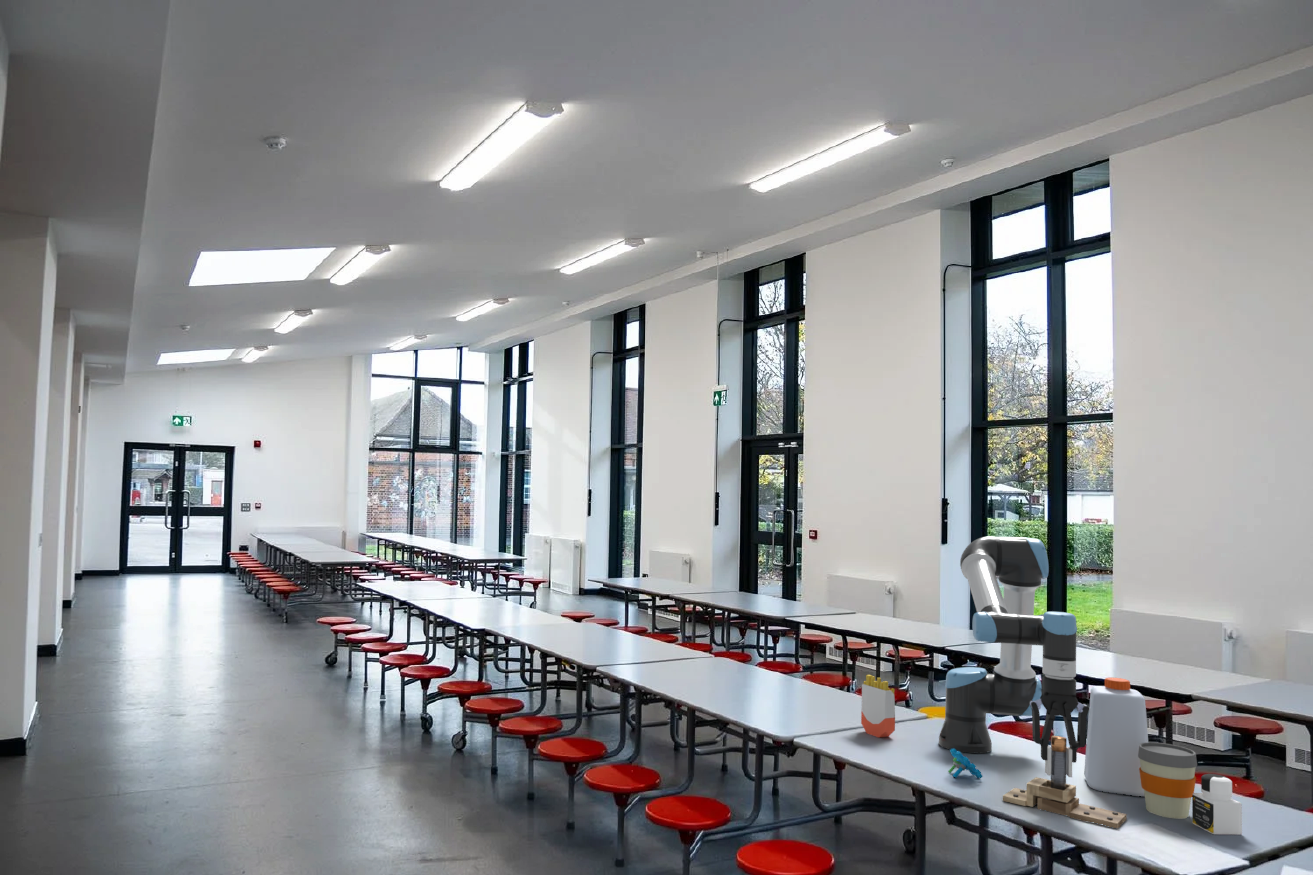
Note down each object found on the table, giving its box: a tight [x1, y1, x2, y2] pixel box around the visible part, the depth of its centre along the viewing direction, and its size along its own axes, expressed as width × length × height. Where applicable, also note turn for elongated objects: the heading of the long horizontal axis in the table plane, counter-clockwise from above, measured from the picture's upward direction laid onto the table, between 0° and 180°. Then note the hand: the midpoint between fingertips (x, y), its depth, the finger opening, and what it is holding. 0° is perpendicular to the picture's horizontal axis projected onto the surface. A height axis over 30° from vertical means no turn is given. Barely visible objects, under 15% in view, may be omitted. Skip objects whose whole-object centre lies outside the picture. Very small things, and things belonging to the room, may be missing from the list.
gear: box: [947, 749, 983, 779], centre depth 240 cm, size 11×6×10 cm
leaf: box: [1002, 776, 1077, 808], centre depth 220 cm, size 9×15×5 cm, turn 50°
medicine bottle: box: [1191, 773, 1243, 836], centre depth 207 cm, size 7×7×12 cm
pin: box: [1050, 735, 1068, 803], centre depth 217 cm, size 3×3×16 cm
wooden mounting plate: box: [1037, 796, 1128, 830], centre depth 214 cm, size 9×18×3 cm, turn 50°
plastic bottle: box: [1083, 677, 1149, 798], centre depth 238 cm, size 15×15×28 cm
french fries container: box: [860, 674, 896, 739], centre depth 283 cm, size 5×11×18 cm, turn 28°
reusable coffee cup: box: [1138, 742, 1198, 820], centre depth 218 cm, size 13×13×15 cm
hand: (1058, 774), depth 217 cm, fingers open, 4 cm apart
